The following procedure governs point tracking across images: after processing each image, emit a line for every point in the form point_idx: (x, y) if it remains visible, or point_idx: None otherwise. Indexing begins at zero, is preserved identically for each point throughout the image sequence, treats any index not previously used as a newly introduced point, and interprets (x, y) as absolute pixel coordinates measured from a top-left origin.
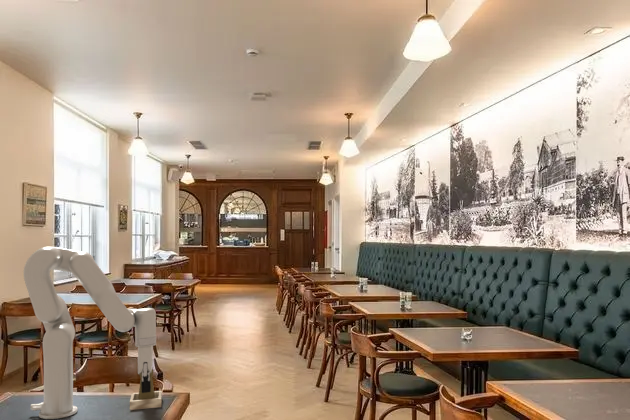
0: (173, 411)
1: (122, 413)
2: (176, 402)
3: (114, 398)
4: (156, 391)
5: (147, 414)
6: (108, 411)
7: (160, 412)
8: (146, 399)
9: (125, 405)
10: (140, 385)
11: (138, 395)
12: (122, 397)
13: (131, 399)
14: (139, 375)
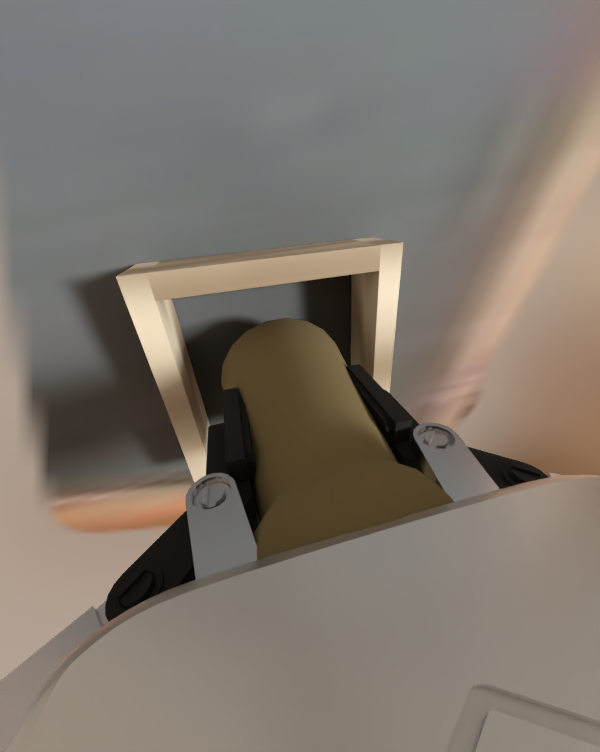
0: (112, 520)
1: (24, 212)
2: None
3: (519, 38)
4: None
5: (29, 416)
6: (79, 13)
7: (87, 472)
8: (184, 407)
9: (275, 198)
10: (271, 403)
11: (370, 300)
12: (507, 128)
13: (194, 279)
14: (323, 483)
